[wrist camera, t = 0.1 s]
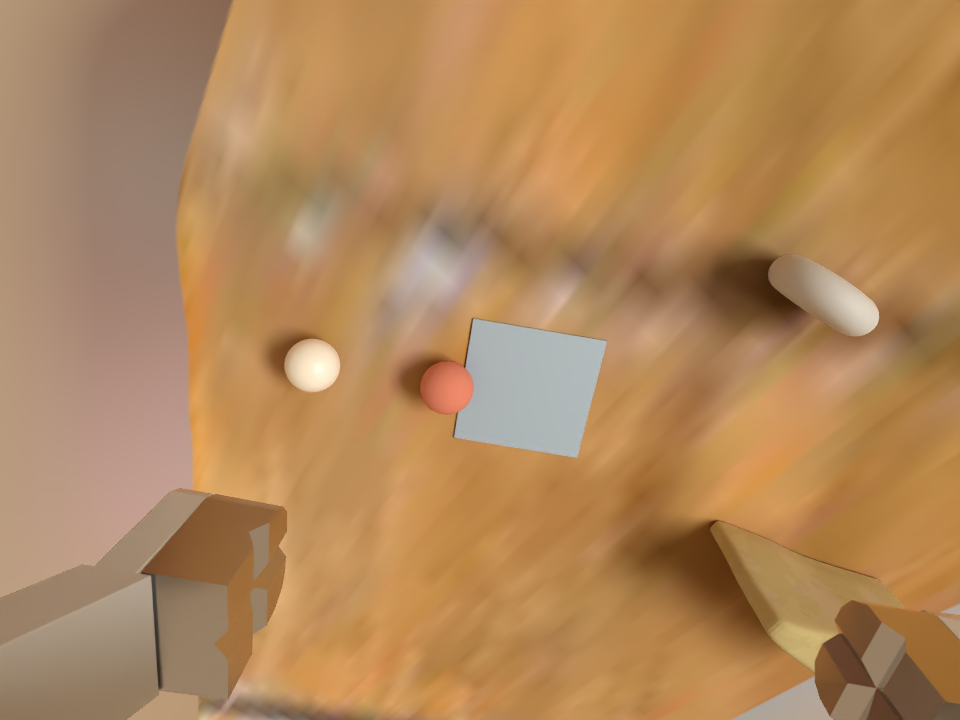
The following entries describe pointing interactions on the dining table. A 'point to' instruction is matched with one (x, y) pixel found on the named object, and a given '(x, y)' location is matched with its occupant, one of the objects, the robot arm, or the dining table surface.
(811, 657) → the olive tan box
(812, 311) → the donut
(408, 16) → the dining table surface
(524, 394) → the mark
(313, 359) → the cue ball
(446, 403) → the red ball
